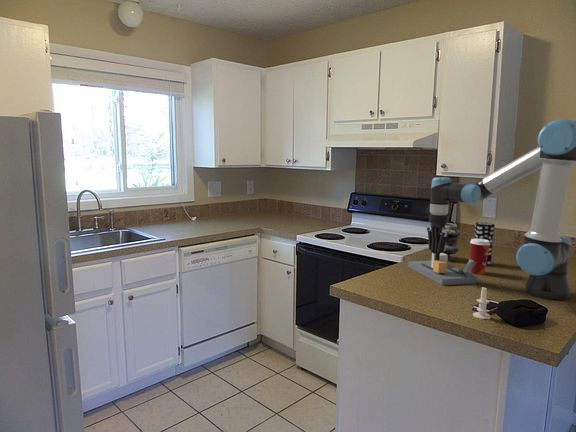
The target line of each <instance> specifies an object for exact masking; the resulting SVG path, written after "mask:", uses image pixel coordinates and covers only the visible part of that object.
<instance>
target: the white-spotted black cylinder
mask: <svg viewBox="0 0 576 432" xmlns="http://www.w3.org/2000/svg"><path fill="white" fill-rule="evenodd" d="M495 225H496V224H495V223H493V222H491V223H490V222H484V221H480V222H475V224H474V226H475V227H474V236H473V237H474V238H473V239H485V240H489V243H490V245H489V250H488V257H487V263H486V267H491V265H492V258H493V257H492V256H493V246H494V235H495Z"/></svg>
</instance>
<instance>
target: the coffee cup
mask: <svg viewBox="0 0 576 432" xmlns="http://www.w3.org/2000/svg"><path fill="white" fill-rule="evenodd" d="M469 243H470V257H469V260H470V259H471V260H473V261H475V262H476V264H475V265H474V267H473V269H472V270H471V273H472V274H474V275H485V273H486V269H487V266H486V263H487V257H488V250H489V245H490V243H489V240H485V239H474V238H471V240H470V242H469Z"/></svg>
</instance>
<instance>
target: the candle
mask: <svg viewBox="0 0 576 432" xmlns="http://www.w3.org/2000/svg"><path fill="white" fill-rule="evenodd" d="M487 290H488V289H487V288H486V287H485V286H482V287H481V292H480V298H476V302H478V303H479V304H478V307H477V308H476V312H473V313H472V317H474V318H476V319H478V318H479V319H478V320H483V319H488V320H490V319H491V315H490V314H489V313H488V309H487V304H489V303H490V301H489V300H488V299H487Z"/></svg>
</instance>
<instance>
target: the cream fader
mask: <svg viewBox="0 0 576 432" xmlns="http://www.w3.org/2000/svg"><path fill="white" fill-rule="evenodd" d="M439 259H440V260H443V261H445V262H448V261H447V260H448V255H447V254H444V253H440V258H439Z"/></svg>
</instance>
